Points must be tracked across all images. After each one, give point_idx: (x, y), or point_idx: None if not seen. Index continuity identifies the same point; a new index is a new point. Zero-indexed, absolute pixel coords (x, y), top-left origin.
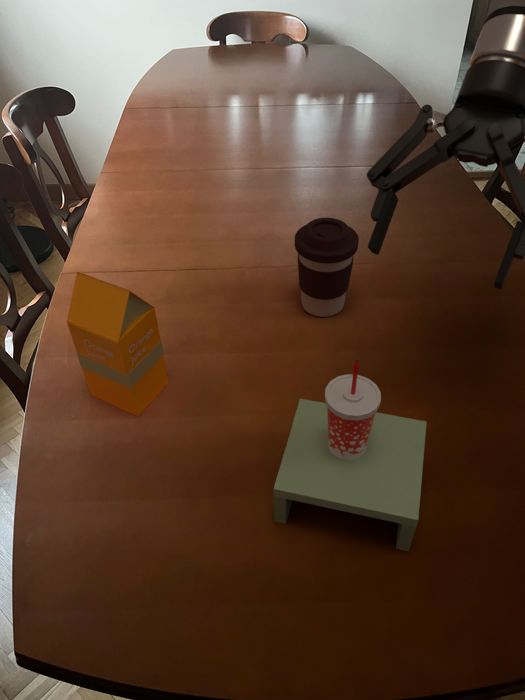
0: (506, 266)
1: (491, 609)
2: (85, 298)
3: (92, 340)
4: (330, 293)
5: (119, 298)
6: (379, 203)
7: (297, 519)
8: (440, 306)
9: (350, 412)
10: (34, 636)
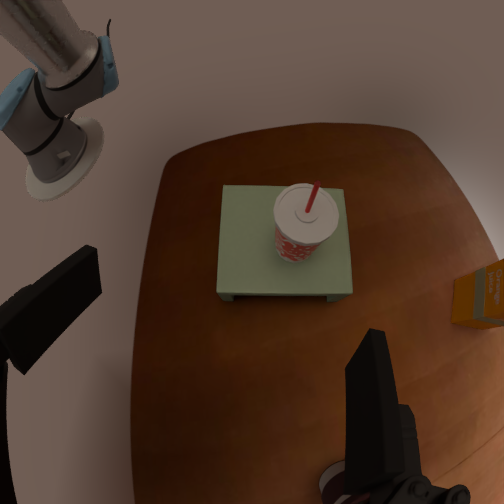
0: (64, 263)
1: (174, 185)
2: None
3: None
4: (343, 474)
5: None
6: (404, 442)
7: None
8: (211, 501)
9: (303, 187)
10: (413, 136)
